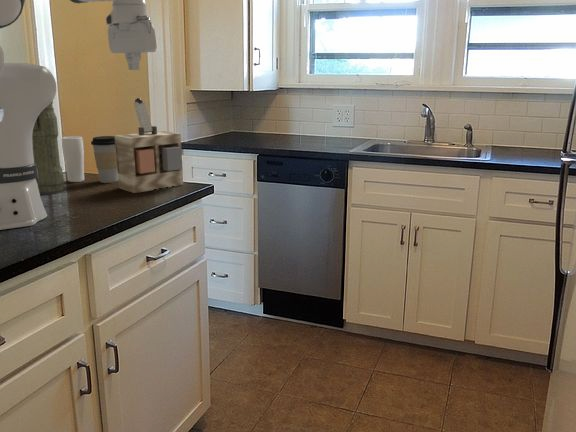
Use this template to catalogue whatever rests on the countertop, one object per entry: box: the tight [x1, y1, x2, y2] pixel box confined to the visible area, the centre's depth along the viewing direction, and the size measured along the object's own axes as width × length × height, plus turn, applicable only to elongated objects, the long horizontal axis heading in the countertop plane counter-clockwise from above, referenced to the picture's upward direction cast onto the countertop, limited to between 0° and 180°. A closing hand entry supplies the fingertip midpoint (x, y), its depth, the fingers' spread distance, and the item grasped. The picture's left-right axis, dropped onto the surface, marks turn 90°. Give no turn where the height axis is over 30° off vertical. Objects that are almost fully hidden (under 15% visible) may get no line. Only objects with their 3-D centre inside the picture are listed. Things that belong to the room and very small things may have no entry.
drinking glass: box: [61, 135, 85, 183], centre depth 192 cm, size 7×7×15 cm
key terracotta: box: [134, 149, 155, 174], centre depth 178 cm, size 5×7×7 cm
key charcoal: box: [160, 146, 183, 171], centre depth 182 cm, size 5×7×7 cm
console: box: [114, 125, 184, 194], centre depth 182 cm, size 18×10×19 cm, turn 133°
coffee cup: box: [90, 135, 118, 184], centre depth 192 cm, size 9×9×15 cm
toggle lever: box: [133, 97, 153, 133], centre depth 181 cm, size 3×2×12 cm
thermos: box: [32, 100, 65, 195], centre depth 174 cm, size 9×12×35 cm
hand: (134, 70), depth 156 cm, fingers closed
